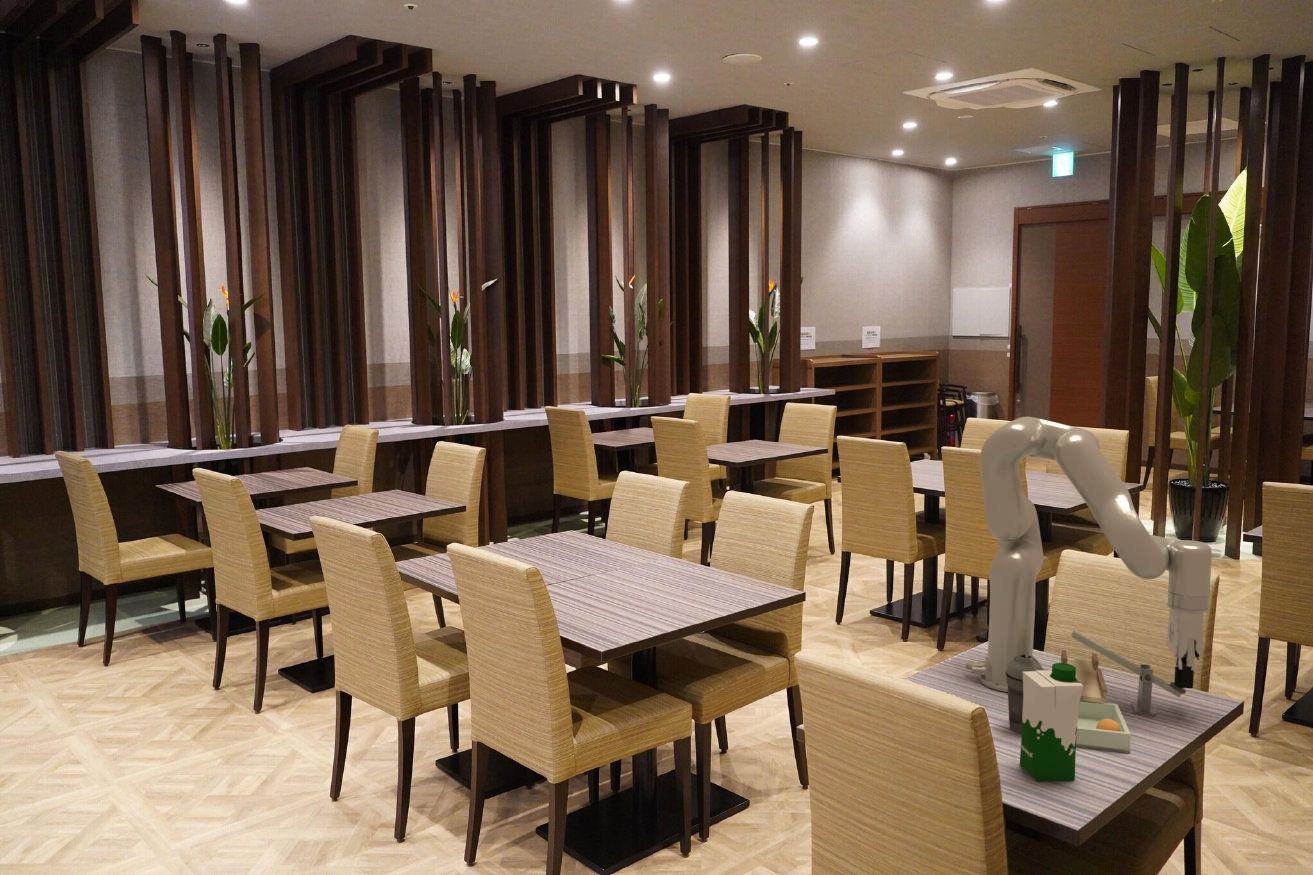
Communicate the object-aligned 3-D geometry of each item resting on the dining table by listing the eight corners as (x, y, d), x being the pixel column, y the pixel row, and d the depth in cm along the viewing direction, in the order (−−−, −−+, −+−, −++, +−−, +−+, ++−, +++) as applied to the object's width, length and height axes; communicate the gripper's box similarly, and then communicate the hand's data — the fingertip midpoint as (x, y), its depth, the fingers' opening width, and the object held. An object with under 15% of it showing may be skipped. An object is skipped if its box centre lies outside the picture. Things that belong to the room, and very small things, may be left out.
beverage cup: (1035, 723, 201) (1040, 629, 198) (1045, 738, 194) (1051, 640, 191) (998, 721, 202) (1003, 627, 199) (1007, 737, 194) (1012, 639, 192)
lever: (1072, 638, 209) (1076, 631, 208) (1070, 633, 212) (1074, 626, 211) (1182, 700, 204) (1187, 693, 203) (1179, 694, 207) (1184, 687, 207)
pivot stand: (1135, 714, 206) (1138, 670, 205) (1130, 704, 211) (1133, 661, 210) (1156, 716, 205) (1159, 672, 204) (1151, 707, 210) (1154, 663, 209)
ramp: (1067, 720, 202) (1070, 675, 201) (1059, 691, 218) (1061, 649, 217) (1104, 724, 201) (1107, 679, 199) (1093, 695, 216) (1096, 652, 215)
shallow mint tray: (1061, 745, 191) (1063, 726, 190) (1053, 714, 205) (1054, 697, 205) (1129, 753, 188) (1130, 734, 187) (1116, 721, 202) (1117, 704, 202)
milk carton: (1082, 782, 176) (1089, 675, 173) (1033, 784, 175) (1039, 676, 172) (1058, 760, 184) (1064, 657, 182) (1011, 762, 184) (1017, 659, 181)
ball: (1093, 731, 190) (1090, 719, 194) (1105, 749, 190) (1101, 738, 194) (1115, 722, 188) (1111, 710, 192) (1127, 741, 189) (1123, 729, 193)
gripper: (1160, 590, 211) (1156, 672, 213) (1176, 609, 197) (1171, 698, 199) (1199, 592, 209) (1194, 675, 211) (1218, 612, 195) (1212, 701, 197)
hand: (1183, 686), depth 205 cm, fingers closed
